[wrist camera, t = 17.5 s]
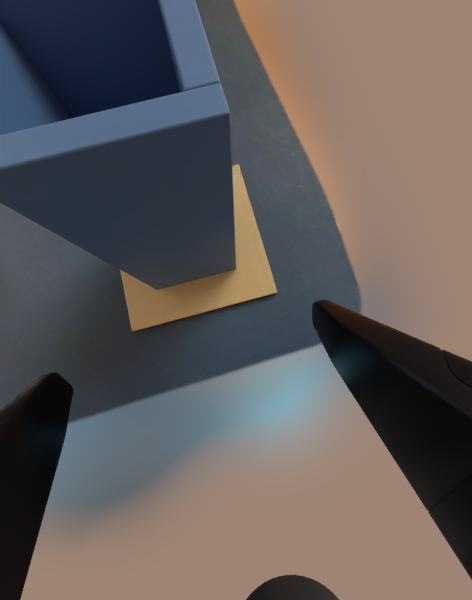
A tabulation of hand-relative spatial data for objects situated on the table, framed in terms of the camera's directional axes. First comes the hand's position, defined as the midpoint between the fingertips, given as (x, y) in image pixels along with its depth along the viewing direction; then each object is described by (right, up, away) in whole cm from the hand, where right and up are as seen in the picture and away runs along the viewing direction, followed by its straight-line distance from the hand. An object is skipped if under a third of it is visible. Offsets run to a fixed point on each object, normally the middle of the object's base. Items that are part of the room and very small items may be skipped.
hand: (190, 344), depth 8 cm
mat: (-2, +5, +8) cm, 10 cm away
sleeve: (-2, +6, +8) cm, 10 cm away
